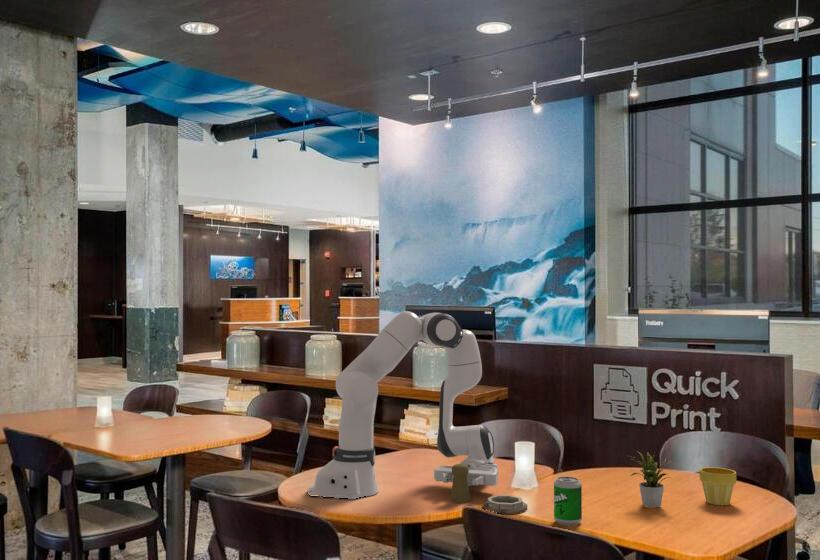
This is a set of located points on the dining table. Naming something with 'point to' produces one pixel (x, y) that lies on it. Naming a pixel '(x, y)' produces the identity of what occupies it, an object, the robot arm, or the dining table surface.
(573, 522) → the soda can
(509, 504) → the grey octagonal ring
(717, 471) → the plant pot
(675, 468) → the dining table surface
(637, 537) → the dining table surface
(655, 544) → the dining table surface
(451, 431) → the robot arm
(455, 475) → the cork
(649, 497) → the house plant
